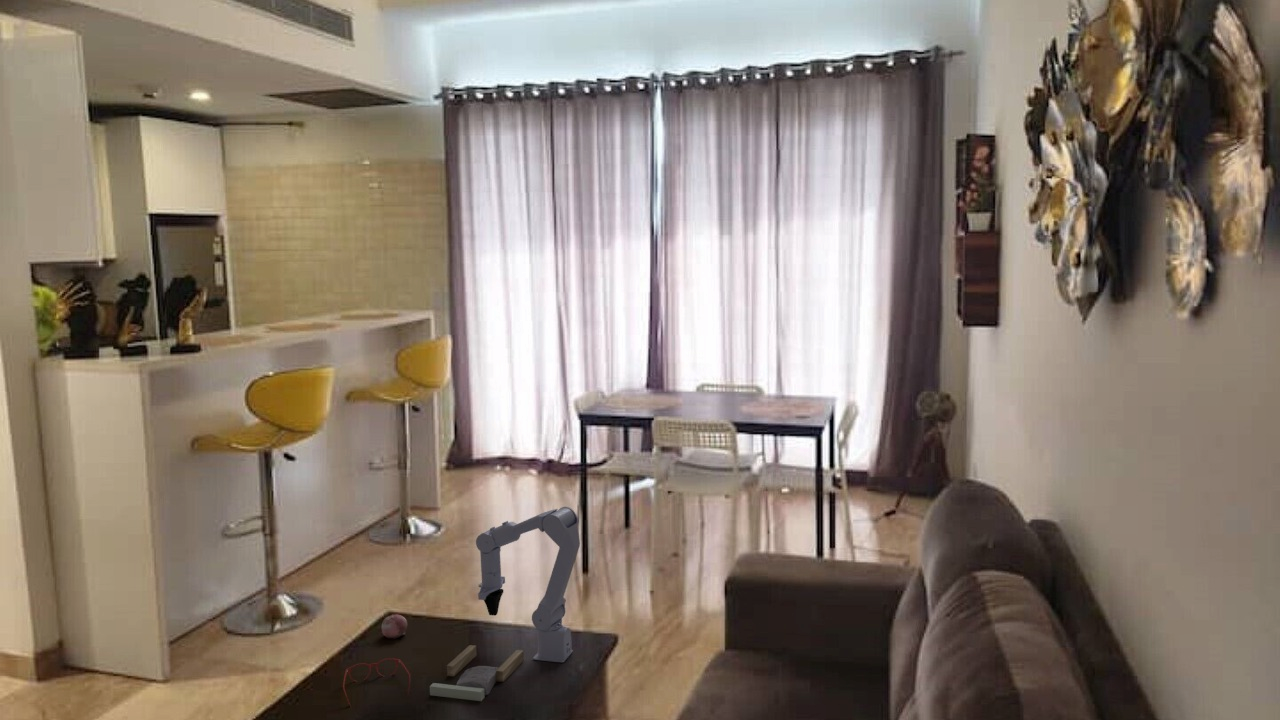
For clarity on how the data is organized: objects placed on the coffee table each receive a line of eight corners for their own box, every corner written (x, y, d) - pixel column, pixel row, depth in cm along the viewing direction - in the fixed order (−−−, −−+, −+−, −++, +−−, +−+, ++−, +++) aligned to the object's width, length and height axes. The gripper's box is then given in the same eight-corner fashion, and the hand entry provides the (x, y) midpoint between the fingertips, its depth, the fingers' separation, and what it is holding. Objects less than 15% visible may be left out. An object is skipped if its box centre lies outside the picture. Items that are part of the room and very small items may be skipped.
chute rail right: (523, 660, 267) (523, 650, 267) (503, 681, 254) (502, 671, 253) (517, 659, 268) (516, 649, 267) (496, 681, 254) (496, 670, 254)
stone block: (455, 702, 247) (491, 696, 246) (451, 685, 247) (486, 678, 246) (468, 683, 259) (502, 677, 258) (464, 667, 259) (498, 660, 257)
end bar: (484, 697, 245) (484, 688, 245) (481, 701, 243) (480, 692, 243) (433, 691, 249) (433, 682, 249) (430, 695, 247) (429, 686, 247)
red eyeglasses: (405, 671, 263) (404, 655, 262) (413, 696, 248) (411, 678, 248) (341, 683, 257) (340, 666, 256) (345, 709, 242) (344, 691, 241)
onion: (381, 644, 284) (373, 621, 284) (392, 636, 292) (384, 614, 292) (404, 636, 283) (396, 614, 283) (414, 629, 290) (407, 607, 291)
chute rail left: (476, 655, 271) (476, 645, 271) (453, 676, 258) (453, 666, 258) (470, 654, 272) (469, 645, 272) (447, 675, 259) (446, 665, 258)
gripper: (489, 561, 283) (491, 604, 284) (467, 577, 269) (470, 622, 270) (510, 563, 281) (512, 606, 282) (490, 579, 267) (492, 624, 268)
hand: (493, 614), depth 276 cm, fingers closed
